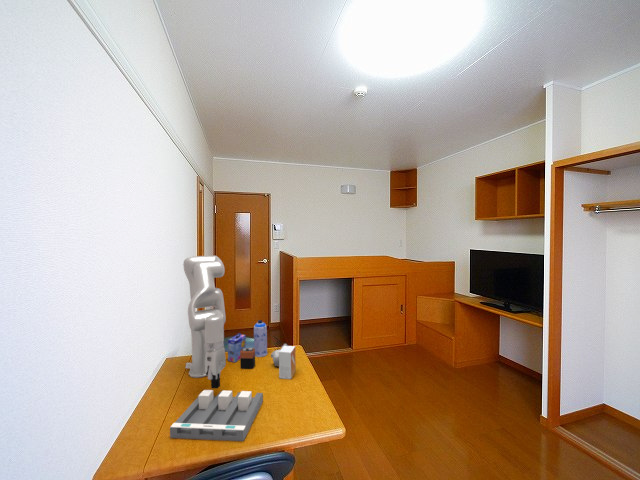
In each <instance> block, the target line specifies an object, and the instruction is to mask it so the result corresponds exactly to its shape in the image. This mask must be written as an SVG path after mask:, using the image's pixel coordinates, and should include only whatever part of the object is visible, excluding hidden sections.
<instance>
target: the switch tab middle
mask: <svg viewBox="0 0 640 480" xmlns="http://www.w3.org/2000/svg"><path fill="white" fill-rule="evenodd" d="M220 392H221V393H220ZM220 392H219V393H220V395H219V396H218V410H227V409H228V407H229V406H230V404H231V403H232V397H233V390H223V389H222V391H220Z"/></svg>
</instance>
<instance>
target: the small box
mask: <svg viewBox="0 0 640 480" xmlns="http://www.w3.org/2000/svg"><path fill="white" fill-rule="evenodd" d="M282 346H283V345H282ZM281 348H282V347H281ZM281 348H280V349H279V350H280V351H279V366H278V370H279V371H278V375H279V376H278V378H279V379H284V380H292V379H293V377H294V375H295V373H296V372H297V371H296V370H297V369H296V367H297V366H296V346H295V345H293V346H292V345H287V346H283V348H282V349H281Z"/></svg>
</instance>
